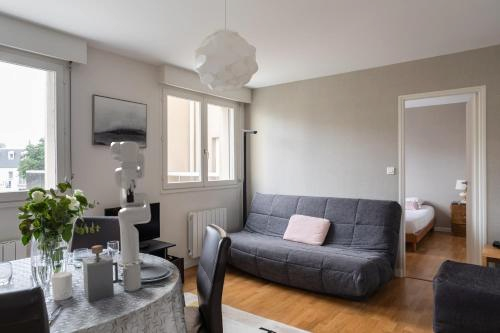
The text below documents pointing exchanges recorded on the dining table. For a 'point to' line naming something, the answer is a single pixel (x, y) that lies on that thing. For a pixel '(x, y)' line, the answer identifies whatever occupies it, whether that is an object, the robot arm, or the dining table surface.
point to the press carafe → (99, 277)
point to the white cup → (62, 285)
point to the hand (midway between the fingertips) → (130, 202)
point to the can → (132, 276)
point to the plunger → (97, 250)
